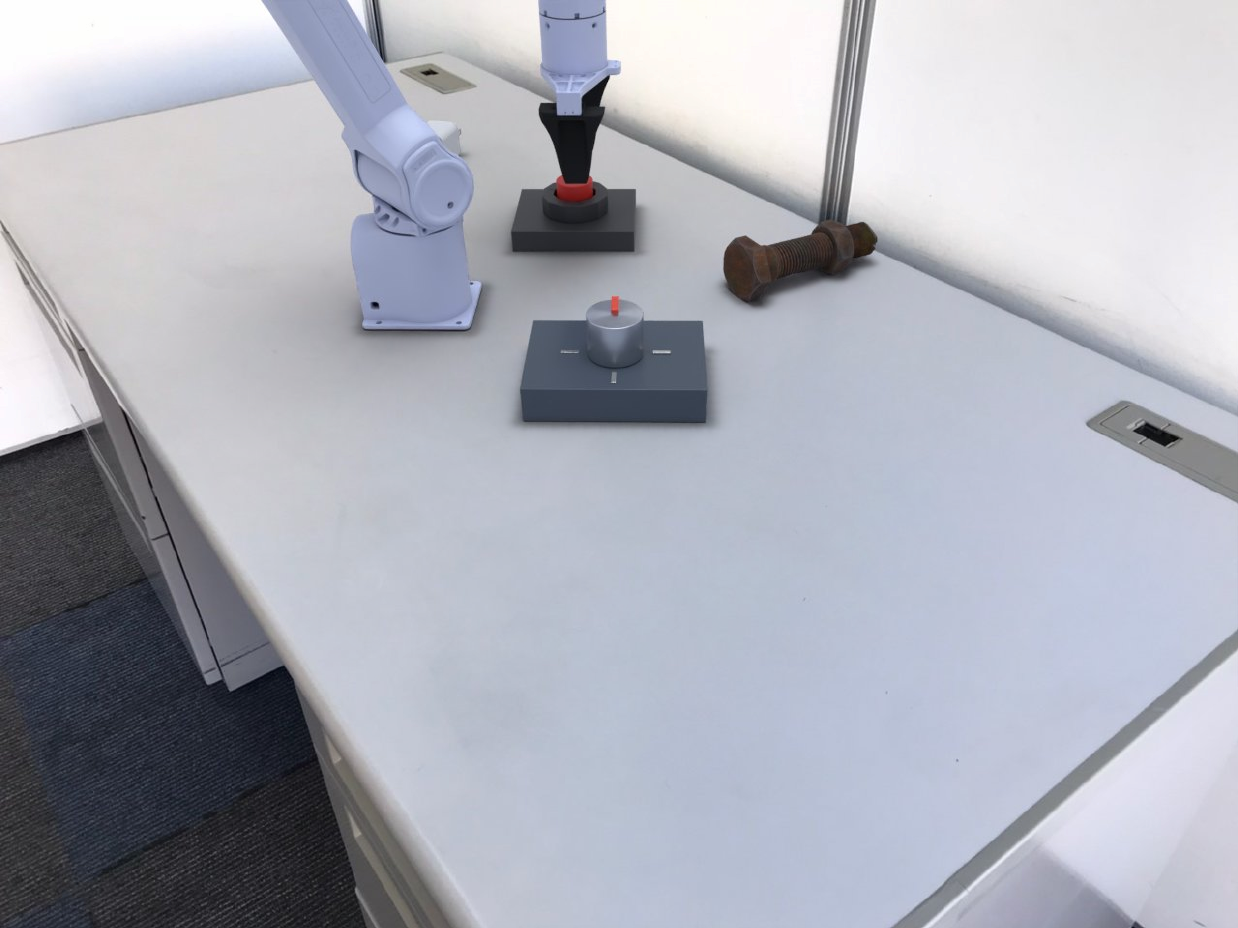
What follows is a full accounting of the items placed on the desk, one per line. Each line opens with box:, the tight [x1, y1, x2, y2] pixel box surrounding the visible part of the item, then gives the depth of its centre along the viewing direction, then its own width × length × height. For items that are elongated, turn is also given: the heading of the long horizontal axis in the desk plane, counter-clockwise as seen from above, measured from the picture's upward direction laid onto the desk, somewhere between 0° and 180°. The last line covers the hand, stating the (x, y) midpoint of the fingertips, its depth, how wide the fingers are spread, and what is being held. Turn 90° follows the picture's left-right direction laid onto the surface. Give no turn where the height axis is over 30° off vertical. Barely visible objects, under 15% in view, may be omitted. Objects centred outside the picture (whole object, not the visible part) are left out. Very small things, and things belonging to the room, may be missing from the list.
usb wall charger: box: [426, 119, 462, 156], centre depth 116 cm, size 4×7×4 cm, turn 163°
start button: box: [555, 174, 594, 201], centre depth 99 cm, size 4×4×2 cm
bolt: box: [722, 219, 879, 303], centre depth 92 cm, size 6×5×15 cm
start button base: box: [510, 180, 637, 253], centre depth 101 cm, size 12×10×4 cm
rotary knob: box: [585, 295, 645, 368], centre depth 77 cm, size 4×4×4 cm
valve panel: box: [519, 319, 708, 423], centre depth 79 cm, size 14×10×3 cm
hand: (579, 165), depth 93 cm, fingers open, 7 cm apart
